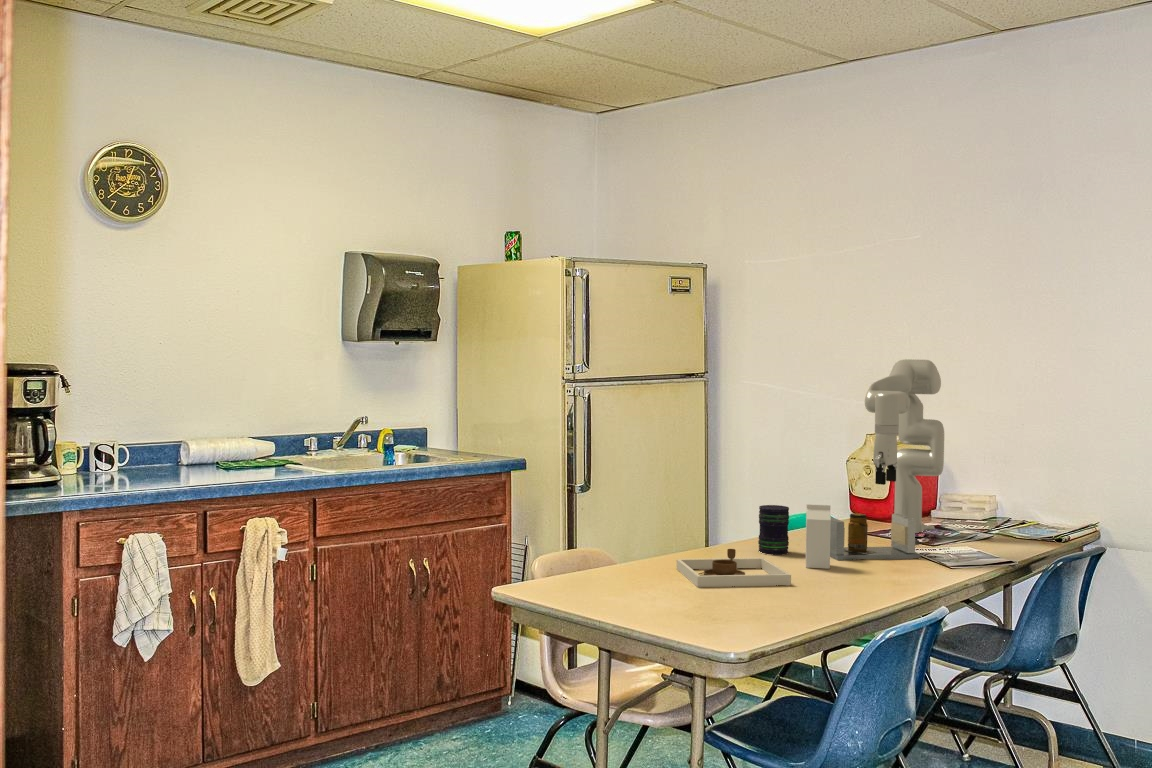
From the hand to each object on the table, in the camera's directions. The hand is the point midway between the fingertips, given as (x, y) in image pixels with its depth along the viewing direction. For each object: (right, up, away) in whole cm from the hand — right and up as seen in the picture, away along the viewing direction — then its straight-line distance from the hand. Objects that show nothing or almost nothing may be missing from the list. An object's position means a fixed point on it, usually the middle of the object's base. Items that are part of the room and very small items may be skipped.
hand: (885, 482), depth 344 cm
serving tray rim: (-56, -24, -37) cm, 71 cm away
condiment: (-9, -22, -1) cm, 24 cm away
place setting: (-55, -24, -37) cm, 71 cm away
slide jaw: (+8, -22, +2) cm, 23 cm away
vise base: (-5, -24, 0) cm, 24 cm away
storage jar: (-36, -24, +4) cm, 43 cm away
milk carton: (-27, -24, -19) cm, 41 cm away
